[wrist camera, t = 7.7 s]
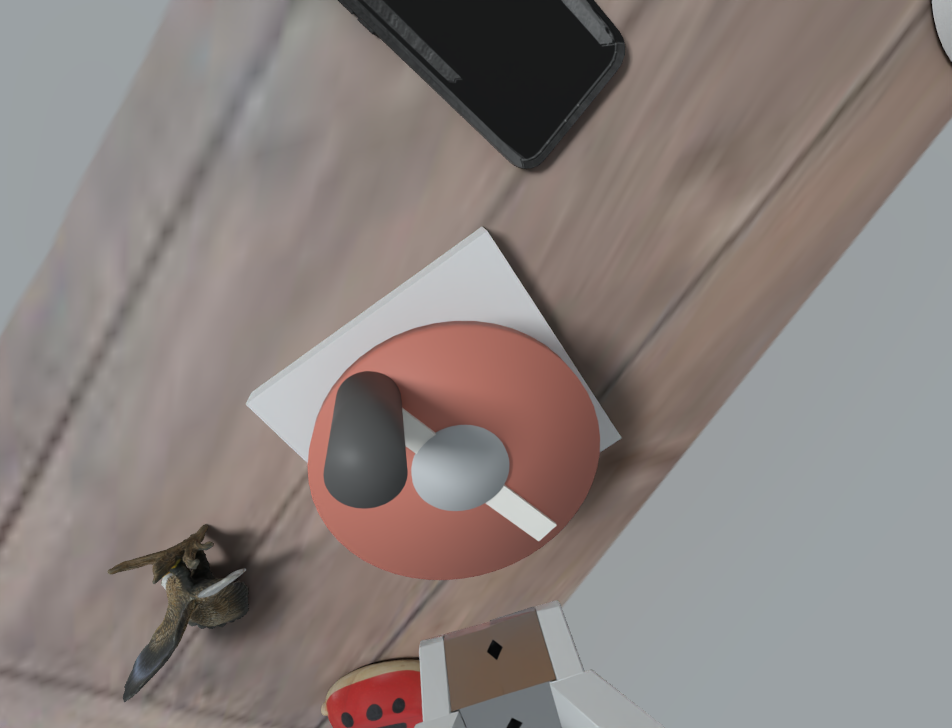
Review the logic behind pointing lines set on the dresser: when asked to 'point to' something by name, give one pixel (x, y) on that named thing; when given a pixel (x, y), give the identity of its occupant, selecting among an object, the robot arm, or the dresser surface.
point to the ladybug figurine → (377, 697)
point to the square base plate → (410, 306)
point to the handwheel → (453, 450)
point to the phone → (504, 62)
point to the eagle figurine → (184, 602)
